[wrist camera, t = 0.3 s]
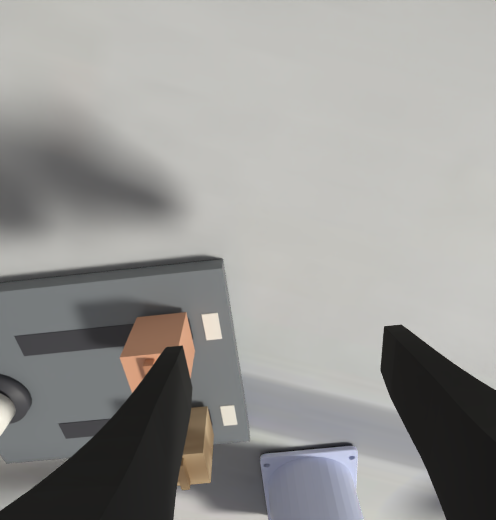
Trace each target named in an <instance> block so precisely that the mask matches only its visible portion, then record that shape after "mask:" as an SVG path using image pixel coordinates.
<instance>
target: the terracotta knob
mask: <svg viewBox="0 0 496 520" xmlns="http://www.w3.org/2000/svg"><path fill="white" fill-rule="evenodd" d="M172 346H183V348H184V353H185V357H186V361H187V366H188V370H189V374H190V379H191V373H192V366H193V360H194V354H195V349H194V344H193V340H192V335H191V331H190V326H189V322H188V318H187V313H186V312H183V313H173V314H163V315H153V316H144V317H137V318H136V320H135V323H134V325H133V327H132V330H131V332H130V334H129V337H128V339H127V341H126V344H125V346H124V349H123V351H122V353H121V356H120V360H121V363H122V366H123V369H124V371H125V374H126V377H127V380H128V383H129V386H130V389H131V391H132V393H133V391H134V390H135V389H136V388H137V386H138V385H139V384H140V382H141V381H142V380H143V378H144V377H145V376H146V374H147V373H148V371H149V370H150V369H151V367H152V366H153V364H154V363H155V362H156V360H157V359H158V357H159V356H160V354H161V353H162V352H163V350H164V349H165V348H166V347H172Z"/></svg>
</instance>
